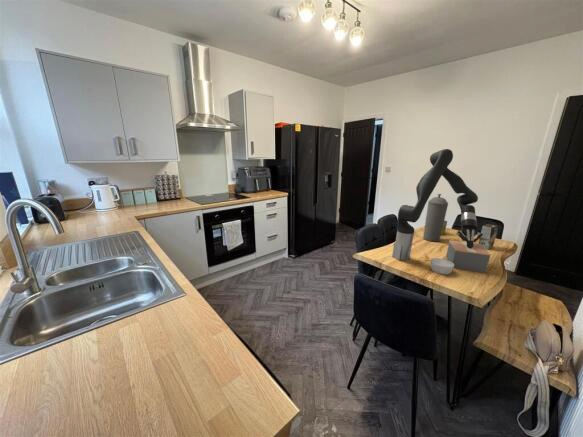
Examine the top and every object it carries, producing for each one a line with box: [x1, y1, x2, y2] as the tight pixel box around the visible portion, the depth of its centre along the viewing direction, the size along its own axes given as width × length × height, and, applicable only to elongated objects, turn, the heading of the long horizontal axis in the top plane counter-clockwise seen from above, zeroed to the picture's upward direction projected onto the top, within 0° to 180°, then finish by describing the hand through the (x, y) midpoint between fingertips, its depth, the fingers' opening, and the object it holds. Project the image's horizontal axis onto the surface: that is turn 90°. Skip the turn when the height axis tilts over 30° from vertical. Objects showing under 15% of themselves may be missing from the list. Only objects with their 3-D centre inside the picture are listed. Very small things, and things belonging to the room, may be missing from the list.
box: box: [445, 242, 491, 274], centre depth 139 cm, size 16×16×10 cm
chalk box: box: [441, 219, 448, 236], centre depth 192 cm, size 9×9×15 cm
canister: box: [422, 193, 449, 242], centre depth 175 cm, size 13×13×35 cm
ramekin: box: [429, 257, 454, 275], centre depth 132 cm, size 11×11×5 cm
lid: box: [448, 239, 491, 257], centre depth 138 cm, size 16×16×1 cm
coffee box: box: [477, 223, 499, 251], centre depth 164 cm, size 9×6×16 cm
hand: (470, 247), depth 135 cm, fingers closed
